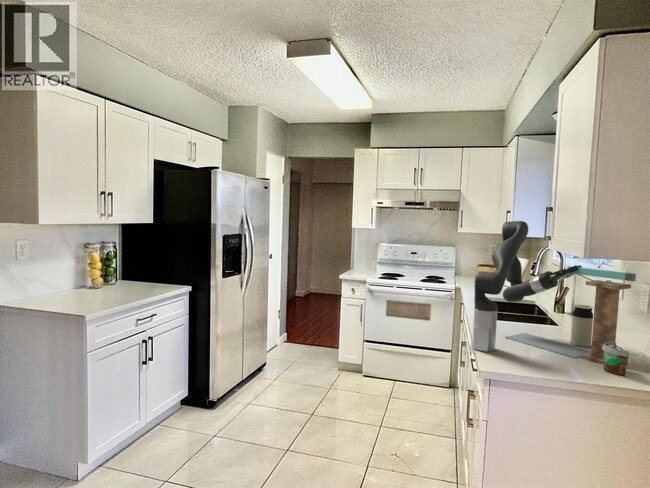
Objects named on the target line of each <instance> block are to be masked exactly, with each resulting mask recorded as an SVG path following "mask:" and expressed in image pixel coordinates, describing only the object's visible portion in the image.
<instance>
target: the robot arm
mask: <svg viewBox="0 0 650 488" xmlns="http://www.w3.org/2000/svg"><path fill="white" fill-rule="evenodd" d="M501 228H502V229H501V236H502V242H500V243H499V244H498V245H497V246H496V247H495V249H494V251H493V253H492V254H491V256H492V257H491V260H492V263H493V265H494V267H495V268H496V272H489V271H478V272H477V273H476V274H475V278H474V310H473V311H474V312H473V313H474V314H473V325H472V326H473V327H472V329H473V330H472V345H471V347H472V349H473V350H477V351H482V352H485V353H489V352H495V350H496V337H497V323H498V310H499V309H498V308H499V307H498V303H497V302H494V301H493V300H491V299H490V298H488V297H487V296H486V294H487V295H491V296H494V295H495V296H497V295H499V294H500V293H501V292H502V290H503V287H504V286H505V283H506V282H507V283H510V286H508V287H506V288H504V290H503V292H502V297H503V299H504V300H505V301H507V302H509V303H510V302H512V303H515V302H522V301H523V300H524V298H525V297H530V296H533V295H537V294H538V293H539V294H540V293H543V292H546V291H548V290H551V289H553V288H556V287H557V286H558V284H559V281H563V280H565V279H569V278H571V277H572V276H574V275H576V274H571V273H573V272H575V271H577V270H579V269H578V267H580V268H583V266H582V265H580V264H579V265H573V266H572V267H571V266H569V267H570V268H568V267H567V268H562V269H560V270H557V271H554V272H552V271H550V270H548V271H545V272H542V273H541V274H538V275H535V276H533V277H532V278H530V279H527V280H526V281H524V282H523V280H522V274H523V273H522V272H523V270H522V269H523V268H522V263H521V261H520V259H519V258H518V256H517V254H518V252H519V249H520V247H521V246H522V244H523V243H524V242H525V240H526V238H527V236H528V233H529V224H528V223H527V222H526V221H524V220H515V221H514V220H513V221H504V222H503V224H502V227H501Z"/></svg>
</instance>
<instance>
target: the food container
mask: <svg viewBox="0 0 650 488" xmlns="http://www.w3.org/2000/svg"><path fill="white" fill-rule="evenodd" d="M602 350H604V365H603V370H605V371H604V372H605V373H608V374H610V373H611V375H613V374H614V376H617V375H618V376H617V377H621V376H623V378H625V377H626V375H627V374H626V373H627V372H626V371H627V365H628V358H629V355H630V354H629V351H628V350H625V349H624V348H622V347H621V346H618V345H617V342H616V341H615V342H605V343H604V344H603V346H602Z"/></svg>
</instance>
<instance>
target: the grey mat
mask: <svg viewBox="0 0 650 488" xmlns="http://www.w3.org/2000/svg"><path fill="white" fill-rule="evenodd" d="M504 338H505V339H507V340H511V341H514V342H518V343H522V344H526V345H528V346H532V347H535V348H539V349H540V350H541V349H542V350H546V351H548V352H550V353H551V352H552V353H554V354H558V355H562V356H565V357H568V358H572V359H579V358H581V355H582V354H586V353H589V352H591V350H590V349H589V350H588V349H585V348H582V347H579V346H575V345H574V346H573V345H570V344H568V343H562V342H560V341H556V340H552V339H548V338H544V337H541V336H537V335H534V334H530V333H527V332H523V333H517V334H513V335H509V336H504Z"/></svg>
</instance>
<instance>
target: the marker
mask: <svg viewBox="0 0 650 488" xmlns="http://www.w3.org/2000/svg"><path fill="white" fill-rule="evenodd" d="M570 267H573V266H571V265H570V266H567V269H568V268H570ZM578 269H579V270H577V271H575V272H573V273H571V274H575V275H581V276H587V277H596V278H602V279H603V278H604V279H612V280H617V281H618V280H619V281H626V282H627V281H628V282H636V279H637V277H636V276H637V273H632V272H622V271H615V270H614V271H613V270H605V269H597V268H589V267H588V268H587V267H582V268H580V267H578Z"/></svg>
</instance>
